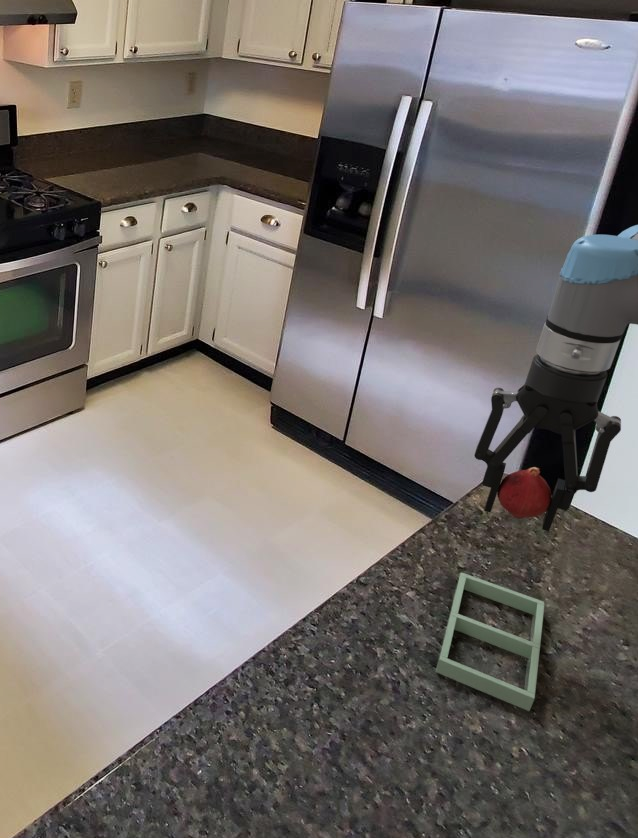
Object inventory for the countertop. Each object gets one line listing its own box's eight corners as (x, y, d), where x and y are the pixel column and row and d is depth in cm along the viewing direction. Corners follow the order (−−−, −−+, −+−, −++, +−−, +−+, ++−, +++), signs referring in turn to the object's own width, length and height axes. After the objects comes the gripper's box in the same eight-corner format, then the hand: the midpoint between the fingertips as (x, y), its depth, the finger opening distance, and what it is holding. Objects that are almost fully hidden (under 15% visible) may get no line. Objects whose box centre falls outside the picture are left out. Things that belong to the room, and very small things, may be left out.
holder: (455, 588, 115) (460, 571, 114) (538, 618, 110) (544, 601, 108) (433, 677, 101) (439, 659, 99) (527, 716, 95) (534, 698, 94)
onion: (499, 527, 105) (516, 476, 101) (485, 501, 110) (501, 452, 106) (549, 534, 103) (568, 483, 100) (533, 507, 108) (550, 458, 105)
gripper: (477, 352, 99) (433, 504, 109) (671, 397, 89) (602, 559, 99) (485, 332, 104) (442, 478, 114) (668, 371, 94) (604, 528, 104)
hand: (516, 515), depth 106 cm, fingers closed on onion, 6 cm apart
